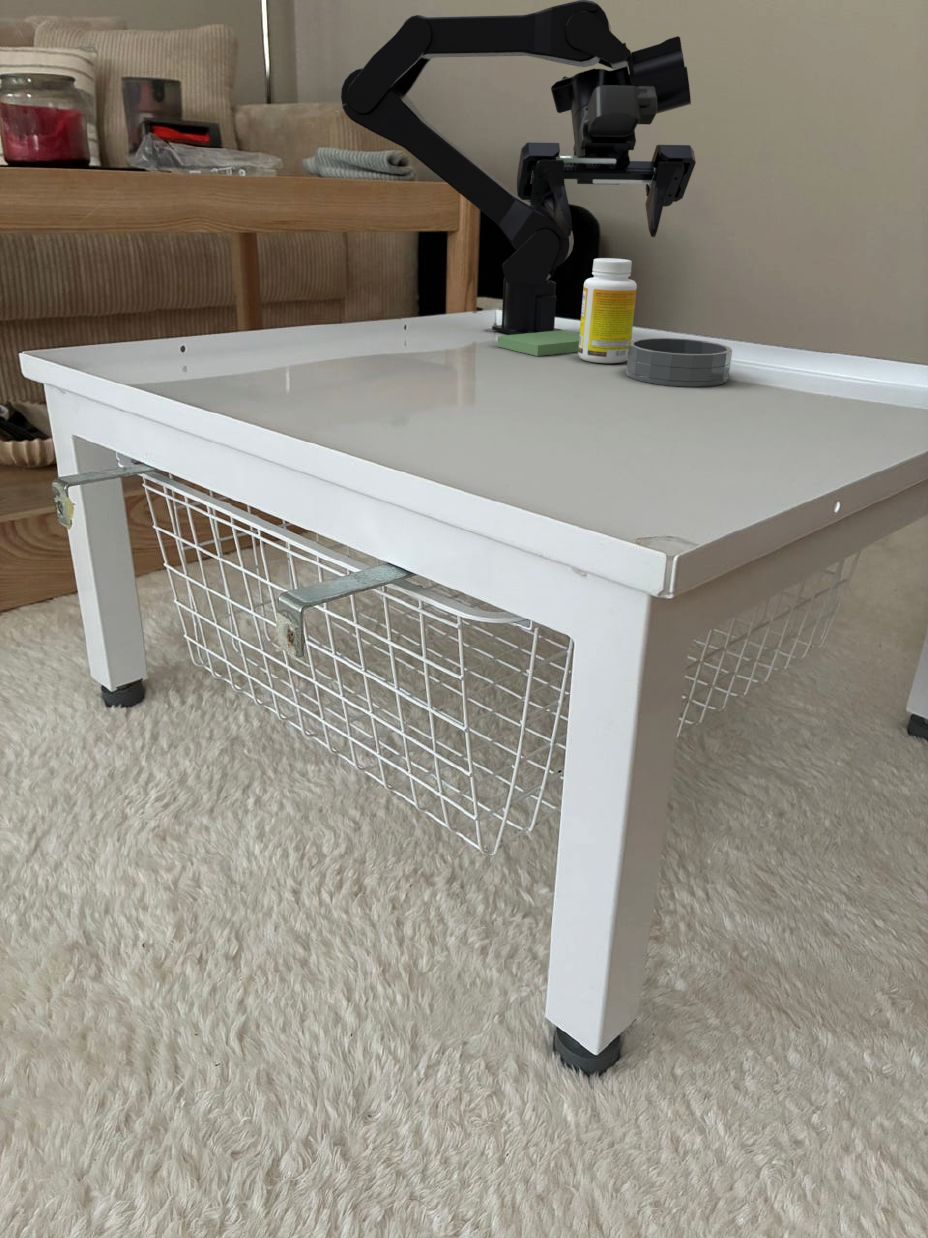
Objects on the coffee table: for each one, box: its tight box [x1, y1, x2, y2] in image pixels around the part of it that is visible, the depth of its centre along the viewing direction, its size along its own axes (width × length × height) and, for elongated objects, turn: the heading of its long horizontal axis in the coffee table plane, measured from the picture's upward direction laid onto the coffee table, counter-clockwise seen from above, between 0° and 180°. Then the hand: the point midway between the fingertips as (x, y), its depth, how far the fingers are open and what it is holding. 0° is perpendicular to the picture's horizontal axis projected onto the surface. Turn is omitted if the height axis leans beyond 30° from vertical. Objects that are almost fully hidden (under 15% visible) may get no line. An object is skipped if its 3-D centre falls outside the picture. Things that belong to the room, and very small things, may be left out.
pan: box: [625, 337, 733, 388], centre depth 95 cm, size 10×10×3 cm
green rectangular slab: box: [497, 329, 580, 357], centre depth 109 cm, size 7×10×1 cm
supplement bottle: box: [577, 257, 638, 364], centre depth 101 cm, size 6×6×10 cm
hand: (612, 233), depth 101 cm, fingers open, 9 cm apart
